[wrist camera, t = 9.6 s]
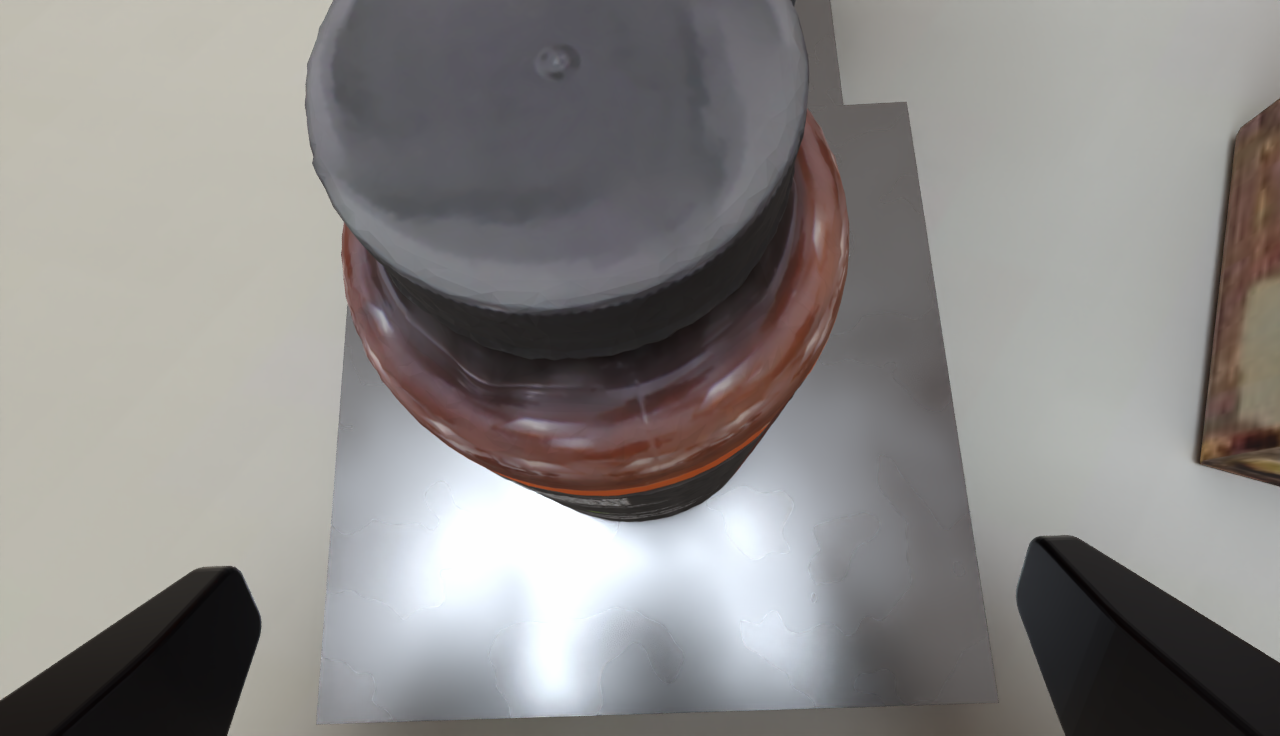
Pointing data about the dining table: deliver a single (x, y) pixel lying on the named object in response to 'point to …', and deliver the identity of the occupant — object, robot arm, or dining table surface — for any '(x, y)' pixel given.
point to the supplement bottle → (583, 231)
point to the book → (1248, 314)
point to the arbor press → (686, 525)
